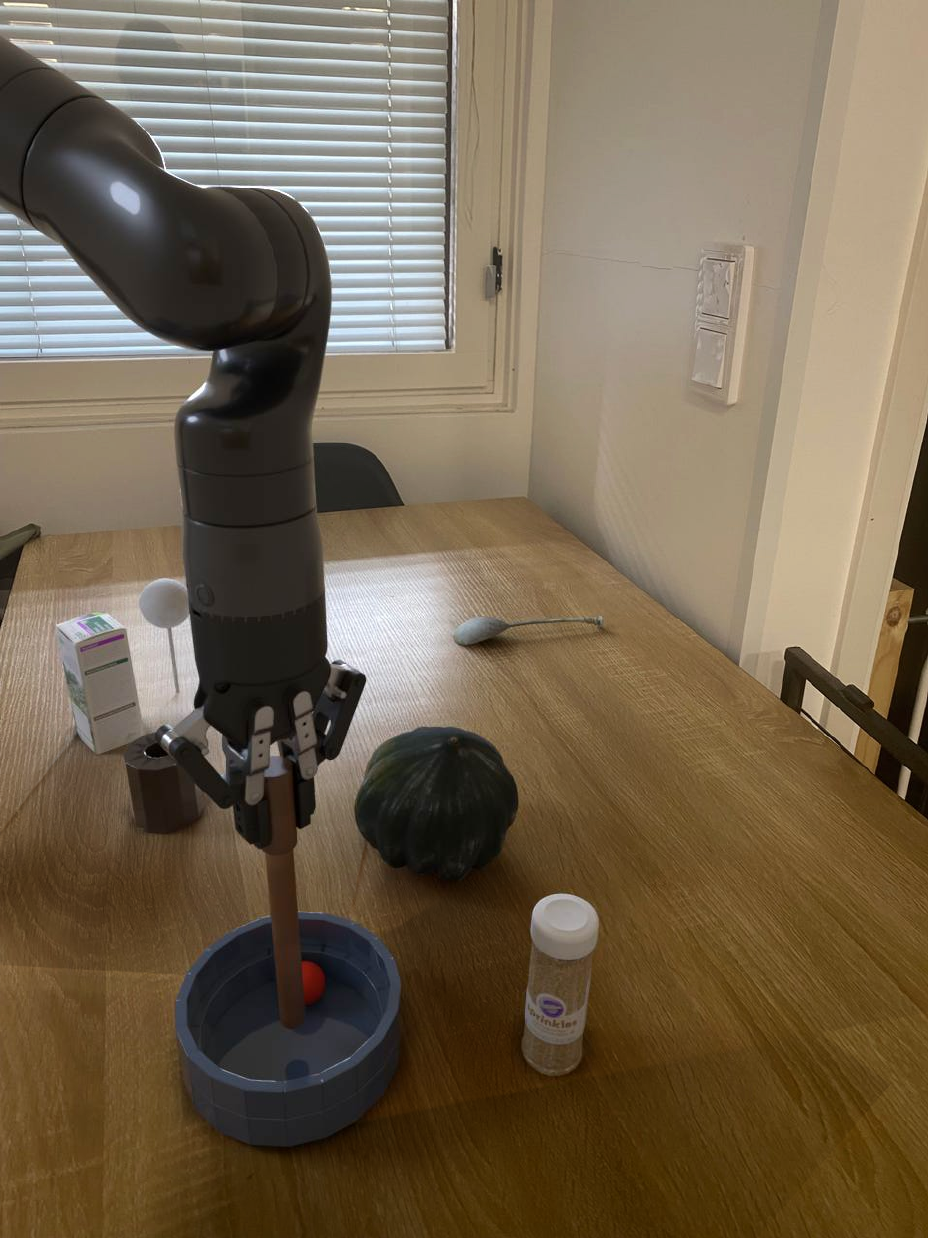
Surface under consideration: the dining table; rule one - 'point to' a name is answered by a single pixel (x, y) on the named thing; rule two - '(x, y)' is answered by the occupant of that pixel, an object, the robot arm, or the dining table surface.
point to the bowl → (289, 1033)
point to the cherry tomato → (312, 982)
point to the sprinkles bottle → (558, 982)
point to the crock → (159, 788)
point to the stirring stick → (284, 890)
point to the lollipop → (165, 609)
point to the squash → (437, 802)
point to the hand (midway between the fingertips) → (276, 830)
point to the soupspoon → (502, 627)
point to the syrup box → (100, 681)
